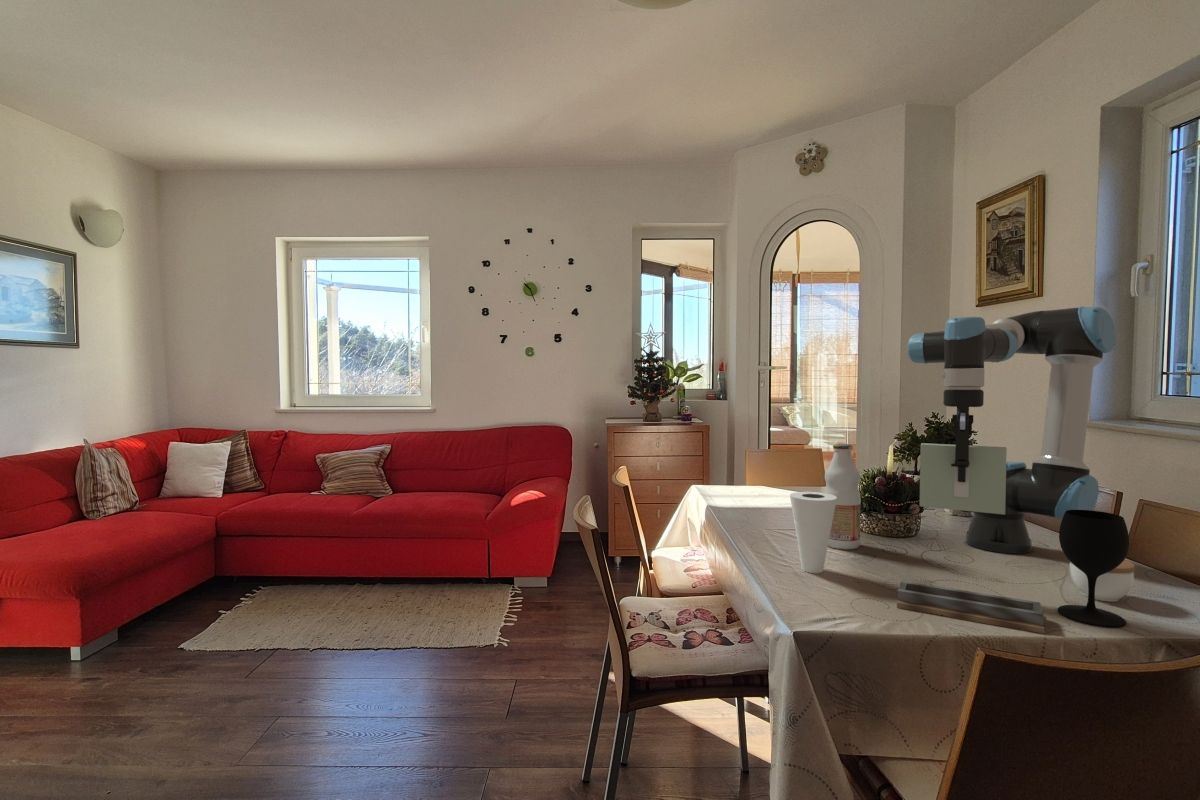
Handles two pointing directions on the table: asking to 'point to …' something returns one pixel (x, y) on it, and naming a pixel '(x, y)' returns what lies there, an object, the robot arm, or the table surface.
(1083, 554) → the wine glass
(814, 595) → the table surface
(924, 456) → the door panel
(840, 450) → the fruit juice
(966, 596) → the door track
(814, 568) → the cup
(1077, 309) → the robot arm
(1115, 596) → the lidded jar
